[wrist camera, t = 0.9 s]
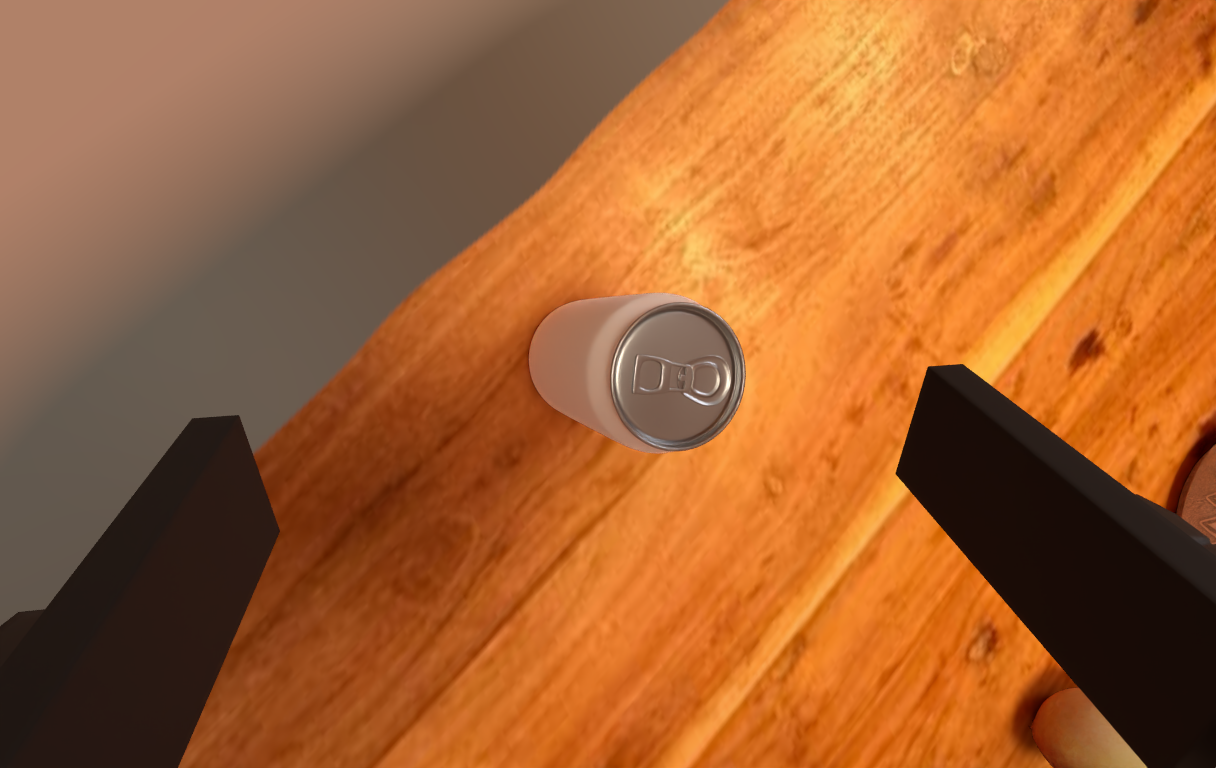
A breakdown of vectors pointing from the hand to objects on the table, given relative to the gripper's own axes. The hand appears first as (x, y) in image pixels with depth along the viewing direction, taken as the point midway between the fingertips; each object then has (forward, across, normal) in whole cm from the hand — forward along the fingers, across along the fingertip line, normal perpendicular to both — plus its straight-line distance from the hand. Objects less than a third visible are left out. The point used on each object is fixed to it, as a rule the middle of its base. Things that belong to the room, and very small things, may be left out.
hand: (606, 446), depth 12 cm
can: (+21, +2, -9) cm, 23 cm away
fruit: (+15, +38, -41) cm, 58 cm away
